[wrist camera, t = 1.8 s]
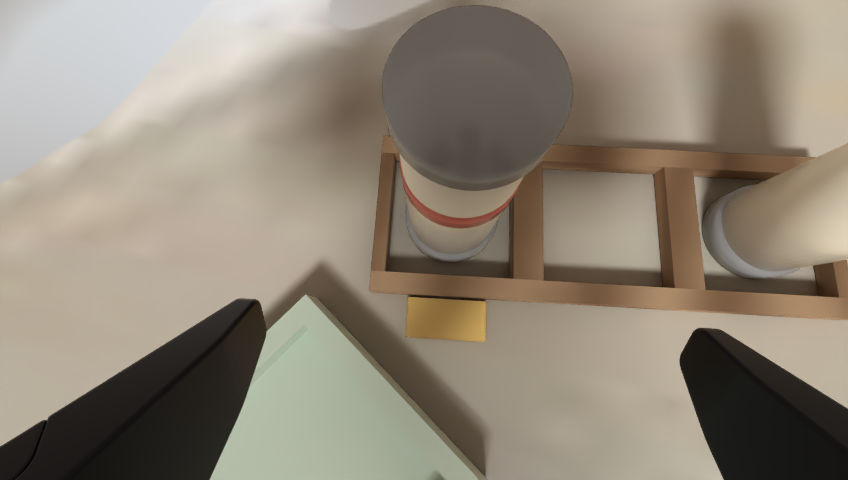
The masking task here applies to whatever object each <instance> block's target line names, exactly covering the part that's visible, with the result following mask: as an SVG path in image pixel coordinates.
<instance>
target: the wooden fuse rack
mask: <svg viewBox="0 0 848 480" xmlns="http://www.w3.org/2000/svg"><path fill="white" fill-rule="evenodd" d="M814 158H816V157H798V156H778V155H758V154H738V153H718V152H698V151H678V150H658V149H638V148H618V147H597V146H577V145H557V144H552V146H551V147H550V149H549V150H548V152H547V153H546V155H545V156H544V158H543V159H542V160H541V161H540V163H539V164H538V165H537V166H536V167H535V168H534V169H533V170H531V171H530V172H529V173H528V174H526V175H525V176H524V177H523V179H522V181H521V184H520V186H519V188H518V190H517V191H516V193H515V195H514V196H513V198H512V199H511V201H510V279H508V278H491V277H473V276H456V275H439V274H421V273H404V272H387V264H388V252H389V240H390V228H391V216H392V204H393V191H394V179H395V167H396V161H400V153H399V152H398V150H397V148H396V146H395V145H394V143H393V140H392V138H391V136H383V144H382V155H381V166H380V177H379V188H378V199H377V210H376V221H375V231H374V242H373V253H372V264H371V275H370V286H369V291H371V292H373V293H390V294H407V295H424V296H441V297H458V298H475V299H492V300H509V301H526V302H543V303H560V304H577V305H594V306H611V307H628V308H645V309H662V310H679V311H696V312H713V313H729V314H746V315H763V316H780V317H797V318H814V319H831V320H847V319H848V265H847V260H842V261H836V262H831V263H825V264H819V265H814V269H815V275H816V280H817V286H818V292H819V296H803V295H786V294H768V293H751V292H734V291H716V290H706V289H705V280H704V271H703V261H702V252H701V242H700V233H699V223H698V214H697V205H696V195H695V186H694V176H698V177H717V178H737V179H756V180H768V179H770V178H772V177H775V176H777V175H779V174H781V173H783V172H785V171H788V170H790V169H792V168H794V167H796V166H799V165H801V164H803V163H805V162H807V161H810V160H812V159H814ZM542 169H561V170H581V171H600V172H620V173H639V174H654V182H655V194H656V207H657V219H658V231H659V244H660V256H661V268H662V281H663V287H647V286H629V285H612V284H595V283H577V282H560V281H544V268H543V177H542ZM485 330H486V302H485V301H468V300H452V299H435V298H418V297H408V311H407V325H406V337H417V338H433V339H449V340H466V341H482V342H485Z"/></svg>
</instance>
